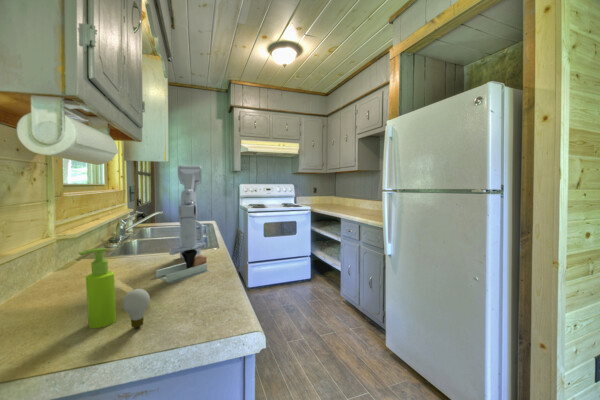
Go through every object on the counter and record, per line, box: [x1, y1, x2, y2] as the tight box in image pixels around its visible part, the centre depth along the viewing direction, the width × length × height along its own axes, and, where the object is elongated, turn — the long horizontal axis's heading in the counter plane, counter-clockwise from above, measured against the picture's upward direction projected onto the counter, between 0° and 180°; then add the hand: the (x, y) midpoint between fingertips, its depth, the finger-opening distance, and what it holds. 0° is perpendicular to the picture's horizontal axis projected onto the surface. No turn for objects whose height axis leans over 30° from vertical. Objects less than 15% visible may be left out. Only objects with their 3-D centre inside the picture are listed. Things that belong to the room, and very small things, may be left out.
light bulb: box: [122, 288, 151, 329], centre depth 68 cm, size 6×6×10 cm
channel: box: [154, 262, 210, 284], centre depth 103 cm, size 12×16×4 cm
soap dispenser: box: [78, 247, 117, 329], centre depth 70 cm, size 6×7×20 cm
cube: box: [192, 254, 208, 267], centre depth 108 cm, size 5×5×5 cm
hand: (189, 268), depth 106 cm, fingers closed
